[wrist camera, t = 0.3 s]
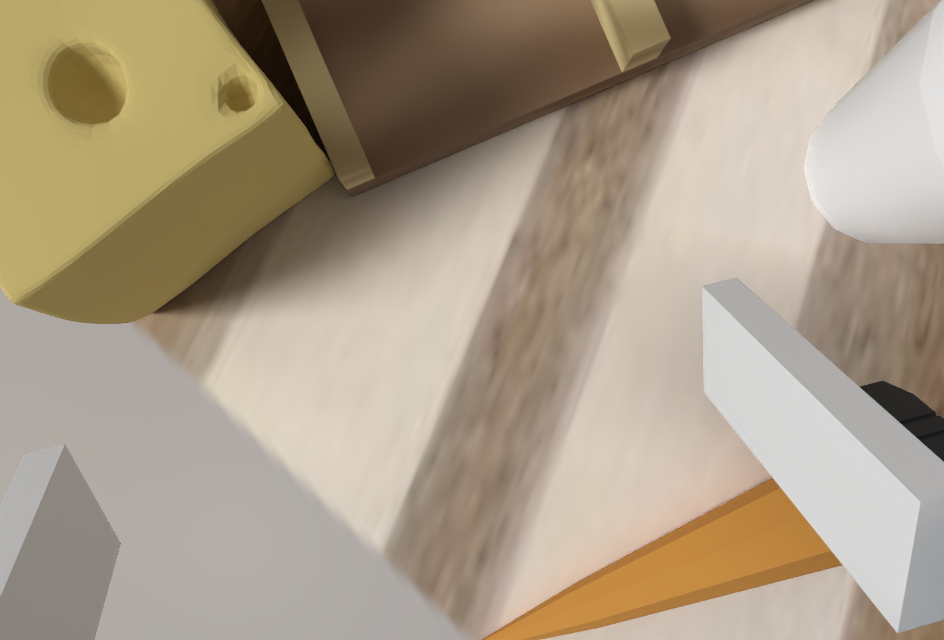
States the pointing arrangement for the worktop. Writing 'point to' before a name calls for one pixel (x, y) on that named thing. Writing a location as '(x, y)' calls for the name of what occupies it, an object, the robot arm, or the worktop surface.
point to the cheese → (134, 153)
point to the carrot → (687, 567)
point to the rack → (474, 66)
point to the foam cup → (887, 146)
